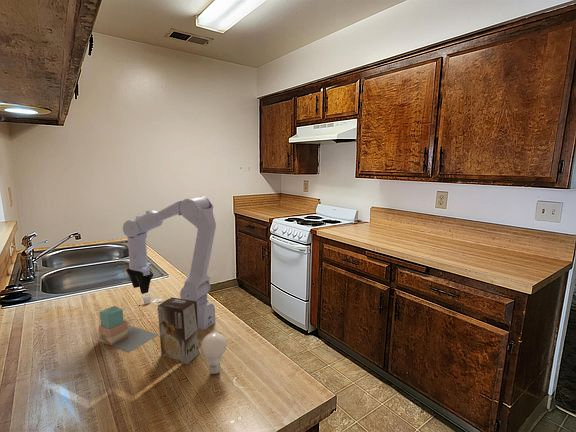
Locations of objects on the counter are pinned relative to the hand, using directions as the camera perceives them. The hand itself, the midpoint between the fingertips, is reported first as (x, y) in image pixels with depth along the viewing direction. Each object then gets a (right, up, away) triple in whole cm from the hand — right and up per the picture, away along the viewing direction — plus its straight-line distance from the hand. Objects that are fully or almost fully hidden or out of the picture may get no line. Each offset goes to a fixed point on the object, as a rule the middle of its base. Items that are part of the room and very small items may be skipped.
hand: (140, 290), depth 114 cm
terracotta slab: (-1, -9, -15) cm, 18 cm away
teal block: (-2, -7, -16) cm, 17 cm away
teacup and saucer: (-1, -10, +11) cm, 14 cm away
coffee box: (+22, -14, -22) cm, 34 cm away
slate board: (+3, -13, -14) cm, 19 cm away
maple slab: (-1, -12, -15) cm, 19 cm away
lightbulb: (+33, -15, -30) cm, 47 cm away
